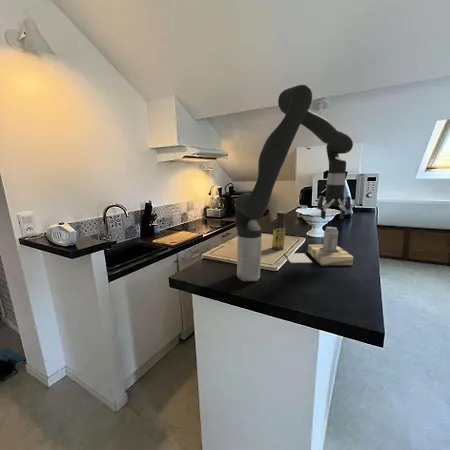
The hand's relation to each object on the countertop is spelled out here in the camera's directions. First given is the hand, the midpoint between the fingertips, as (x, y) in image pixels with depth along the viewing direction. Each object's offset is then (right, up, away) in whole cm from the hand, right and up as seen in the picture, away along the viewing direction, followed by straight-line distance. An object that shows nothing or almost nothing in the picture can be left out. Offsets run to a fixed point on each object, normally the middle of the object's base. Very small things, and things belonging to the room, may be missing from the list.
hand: (332, 218), depth 120 cm
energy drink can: (0, -19, +4) cm, 20 cm away
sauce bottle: (-22, -16, +18) cm, 32 cm away
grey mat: (-15, -19, +4) cm, 25 cm away
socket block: (0, -19, +4) cm, 19 cm away
